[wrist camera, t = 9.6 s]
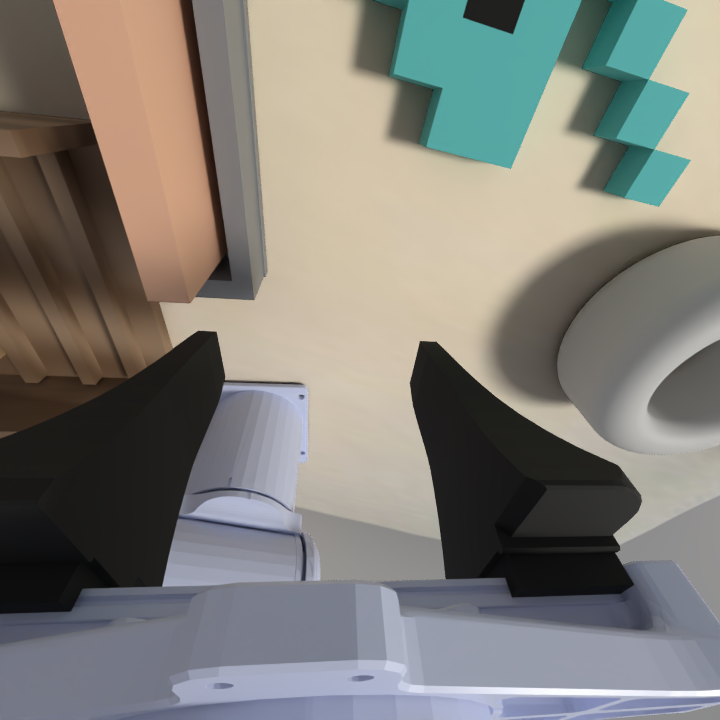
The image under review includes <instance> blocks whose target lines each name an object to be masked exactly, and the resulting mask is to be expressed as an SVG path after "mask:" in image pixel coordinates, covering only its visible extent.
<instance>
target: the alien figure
mask: <svg viewBox="0 0 720 720" xmlns="http://www.w3.org/2000/svg"><path fill="white" fill-rule="evenodd" d="M373 1H376V2H379V3H383V4H386V5H389V6H392V7H395V8H398V9H401V10H402V12H401V17H400V22H399V27H398V32H397V37H396V41H395V46H394V51H393V56H392V61H391V66H390V71H389V77H393V78H396V79H400V80H403V81H406V82H410V83H413V84H417V85H420V86H424V87H427V88H431V89H433V93H432V96H431V100H430V104H429V107H428V111H427V115H426V119H425V122H424V126H423V130H422V133H421V137H420V141H419V144H421V145H423V146H425V147H428V148H432V149H436V150H440V151H444V152H448V153H451V154H455V155H459V156H463V157H467V158H471V159H475V160H479V161H483V162H487V163H490V164H494V165H498V166H502V167H506V168H510V169H511V167H512V165H513V163H514V160H515V158H516V155H517V153H518V151H519V148H520V146H521V144H522V141H523V139H524V136H525V134H526V132H527V129H528V127H529V125H530V122H531V120H532V117H533V115H534V113H535V110H536V108H537V106H538V103H539V101H540V98H541V96H542V94H543V91H544V89H545V87H546V84H547V82H548V79H549V77H550V75H551V72H552V70H553V68H554V65H555V63H556V60H557V58H558V56H559V53H560V51H561V49H562V46H563V44H564V41H565V39H566V37H567V34H568V32H569V30H570V27H571V25H572V22H573V20H574V18H575V15H576V13H577V11H578V8H579V6H580V3H581V1H582V0H373ZM607 1H609V2H612V5H611V7H610V9H609V11H608V13H607V15H606V18H605V20H604V22H603V24H602V26H601V28H600V31H599V33H598V35H597V37H596V39H595V41H594V44H593V46H592V48H591V50H590V52H589V55H588V57H587V59H586V61H585V63H584V65H583V68H582V69H585V70H588V71H591V72H594V73H597V74H600V75H603V76H606V77H609V78H612V79H615V80H618V81H621V84H620V86H619V88H618V90H617V92H616V94H615V95H614V97H613V99H612V101H611V103H610V105H609V107H608V109H607V111H606V113H605V115H604V116H603V118H602V120H601V122H600V124H599V126H598V128H597V130H596V132H595V134H594V136H597V137H600V138H604V139H607V140H611V141H614V142H618V143H621V144H625V145H628V146H629V147H628V149H627V151H626V152H625V154H624V156H623V158H622V159H621V161H620V163H619V164H618V166H617V168H616V170H615V171H614V173H613V175H612V176H611V178H610V180H609V182H608V183H607V185H606V187H605V188H604V190H603V191H605V192H608V193H611V194H614V195H617V196H620V197H623V198H627V199H631V200H635V201H639V202H643V203H647V204H650V205H654V206H658V207H659V206H660V204H661V203H662V201H663V200H664V198H665V197H666V195H667V194H668V193H669V191H670V190H671V188H672V187H673V185H674V184H675V182H676V181H677V180H678V178H679V177H680V175H681V174H682V172H683V171H684V169H685V168H686V166H687V165H688V164H689V162H690V161H691V160H688V159H685V158H682V157H678V156H675V155H671V154H668V153H664V152H661V151H657V150H654V149H655V148H656V146H657V144H658V143H659V141H660V140H661V138H662V136H663V135H664V133H665V132H666V130H667V128H668V127H669V125H670V124H671V122H672V120H673V119H674V117H675V116H676V114H677V112H678V111H679V109H680V108H681V106H682V104H683V103H684V101H685V99H686V98H687V96H688V95H689V93H687V92H684V91H681V90H678V89H675V88H672V87H669V86H666V85H663V84H660V83H657V82H654V81H651V80H649V78H650V76H651V75H652V73H653V71H654V69H655V68H656V66H657V64H658V62H659V60H660V59H661V57H662V55H663V53H664V51H665V50H666V48H667V46H668V44H669V42H670V41H671V39H672V37H673V35H674V33H675V32H676V30H677V28H678V26H679V24H680V23H681V21H682V19H683V17H684V15H685V14H686V12H687V9H684V8H682V7H679V6H676V5H674V4H671V3H669V2H666V1H663V0H607Z"/></svg>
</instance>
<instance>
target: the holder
mask: <svg viewBox="0 0 720 720" xmlns="http://www.w3.org/2000/svg"><path fill="white" fill-rule="evenodd" d="M192 4H193V11H194V18H195V25H196V32H197V39H198V46H199V53H200V60H201V67H202V74H203V81H204V88H205V95H206V102H207V109H208V116H209V123H210V130H211V137H212V144H213V151H214V158H215V165H216V172H217V178H218V185H219V192H220V199H221V206H222V213H223V220H224V227H225V234H226V241H227V248H228V251H227V253H226V254H225V255H224V257H223V258H222V260H221V261H220V262H219V264H218V265H217V267H216V268H215V269H214V271H213V272H212V274H211V275H210V276H209V278H208V279H207V281H206V282H205V283H204V285H203V286H202V288H201V289H200V290H199V292H198V293H197V295H196V296H195V297H205V298H224V299H242V300H255V297H256V295H257V292H258V290H259V287H260V285H261V282H262V280H263V277H266V274H267V259H266V246H265V232H264V219H263V206H262V192H261V179H260V166H259V153H258V139H257V126H256V113H255V100H254V86H253V73H252V60H251V46H250V33H249V20H248V7H247V0H192Z"/></svg>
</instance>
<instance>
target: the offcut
mask: <svg viewBox="0 0 720 720" xmlns="http://www.w3.org/2000/svg"><path fill="white" fill-rule="evenodd" d="M5 355H6V353H5V351H4V350H3V348H2V347H1V345H0V359H1V358H2V357H3V356H5Z"/></svg>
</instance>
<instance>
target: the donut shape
mask: <svg viewBox="0 0 720 720" xmlns="http://www.w3.org/2000/svg"><path fill="white" fill-rule="evenodd" d="M557 372H558V378H559V381H560V384H561V386H562V389H563V390H564V392H565V394H566V395H567V396H568V397H569V399H570V400H571V401H572V403H573V404H574V405H575V406H576V408H577V409H578V410H579V411H580V413H581V414H582V415H583V416H584V418H585V419H586V420H587V421H588V423H589V424H590V425H591V427H592V428H593V429H594V430H595V431H596V432H597V433H598V434H599V435H600V436H601V437H602V438H603V439H605V440H606V441H608V442H609V443H611V444H613V445H615V446H617V447H619V448H622V449H624V450H627V451H631V452H635V453H640V454H649V455H673V454H682V453H689V452H694V451H699V450H703V449H707V448H711V447H715V446H718V445H720V235H719V236H710V237H704V238H698V239H694V240H690V241H686V242H683V243H680V244H677V245H674V246H671V247H668V248H666V249H663V250H661V251H659V252H657V253H654V254H652V255H650V256H648V257H646V258H644V259H642V260H641V261H639V262H637V263H635V264H634V265H632V266H630V267H629V268H627V269H626V270H624V271H623V272H621V273H620V274H619V275H617V276H616V277H615V278H613V279H612V280H611V281H609V282H608V283H607V284H606V285H605V286H603V287H602V288H601V289H600V290H599V291H598V292H597V293H596V294H595V295H594V296H593V297H592V298H591V299H590V300H589V301H588V302H587V303H586V304H585V305H584V307H583V308H582V309H581V310H580V311H579V313H578V314H577V315H576V317H575V318H574V320H573V321H572V323H571V324H570V326H569V328H568V330H567V332H566V334H565V336H564V338H563V340H562V343H561V346H560V350H559V354H558V360H557Z"/></svg>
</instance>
